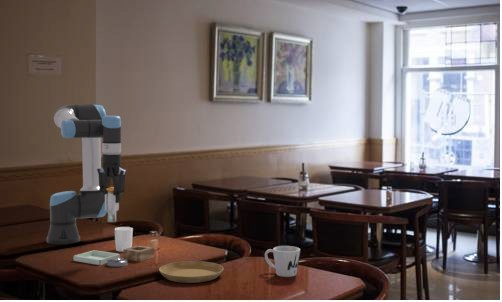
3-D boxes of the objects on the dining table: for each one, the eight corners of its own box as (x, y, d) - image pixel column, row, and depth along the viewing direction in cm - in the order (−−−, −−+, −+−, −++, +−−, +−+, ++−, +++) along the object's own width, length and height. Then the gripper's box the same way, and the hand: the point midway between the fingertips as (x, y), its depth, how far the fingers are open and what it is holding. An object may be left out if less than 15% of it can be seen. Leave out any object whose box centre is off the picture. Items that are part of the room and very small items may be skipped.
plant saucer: (184, 265, 252) (184, 257, 252) (235, 274, 240) (235, 265, 240) (145, 279, 231) (145, 270, 231) (199, 289, 219) (199, 280, 219)
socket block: (123, 260, 259) (123, 249, 259) (137, 255, 267) (137, 245, 267) (140, 262, 255) (140, 251, 255) (154, 258, 263) (154, 247, 263)
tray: (73, 261, 255) (73, 255, 255) (94, 255, 266) (94, 250, 266) (100, 266, 249) (100, 260, 249) (120, 259, 259) (120, 254, 259)
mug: (291, 279, 232) (292, 253, 231) (257, 273, 240) (257, 248, 239) (304, 273, 241) (305, 247, 240) (271, 268, 248) (271, 243, 248)
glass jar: (103, 221, 257) (103, 187, 256) (111, 219, 261) (111, 186, 260) (112, 222, 255) (112, 188, 254) (119, 220, 259) (119, 187, 258)
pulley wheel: (103, 266, 248) (102, 259, 248) (116, 262, 255) (116, 255, 255) (118, 269, 244) (118, 262, 244) (131, 264, 251) (131, 258, 251)
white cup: (128, 253, 272) (128, 230, 271) (111, 252, 273) (111, 229, 272) (135, 249, 279) (135, 227, 279) (119, 248, 281) (118, 226, 280)
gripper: (89, 153, 256) (89, 209, 258) (122, 155, 249) (122, 213, 251) (101, 151, 263) (101, 207, 265) (133, 153, 256) (133, 210, 257)
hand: (111, 209), depth 258 cm, fingers closed on glass jar, 3 cm apart
